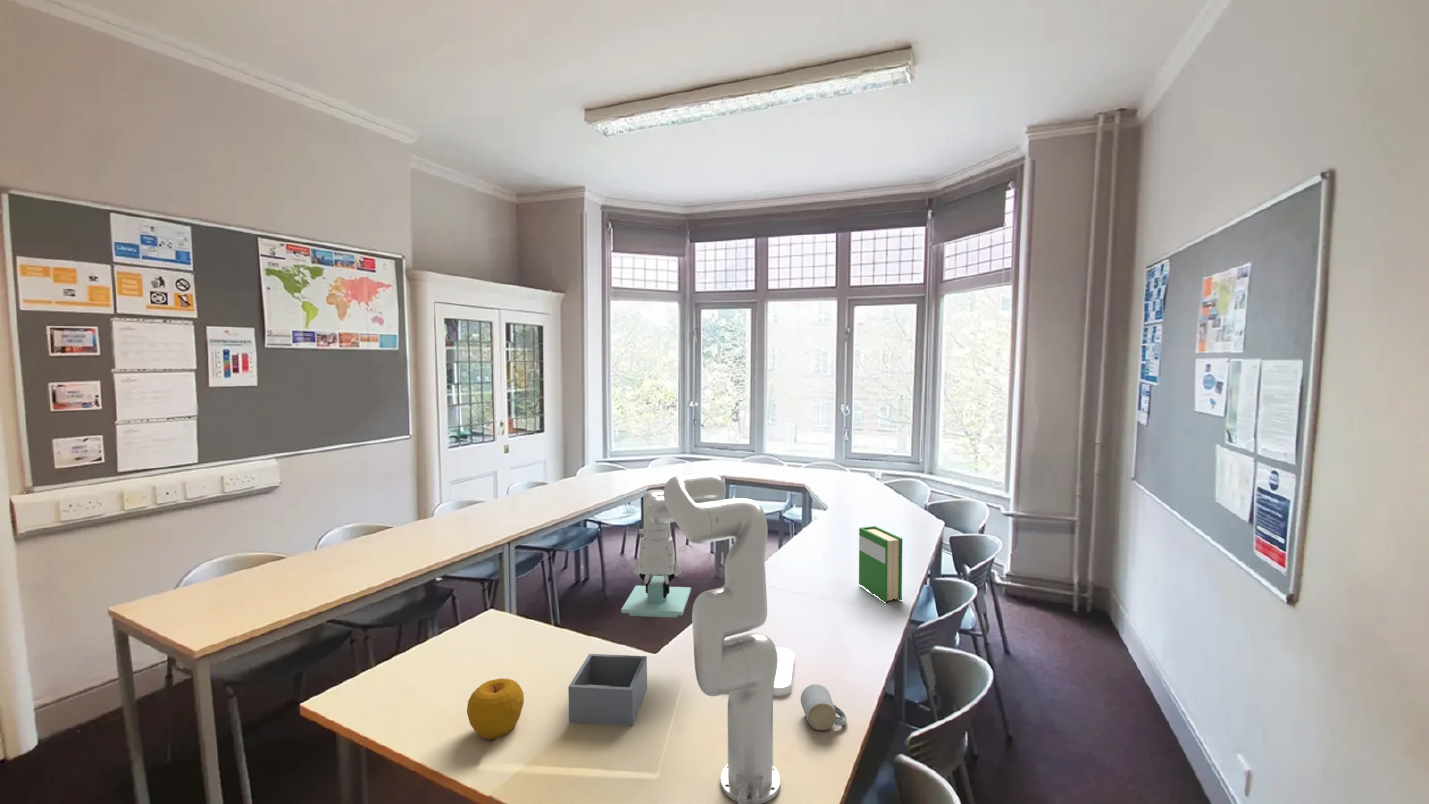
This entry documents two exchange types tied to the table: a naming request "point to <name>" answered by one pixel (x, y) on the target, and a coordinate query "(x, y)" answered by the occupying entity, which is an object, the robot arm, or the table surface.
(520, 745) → the table surface
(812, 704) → the ceramic mug
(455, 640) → the table surface
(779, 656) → the computer
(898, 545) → the hardback book
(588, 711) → the tub
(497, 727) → the apple
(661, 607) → the lid
